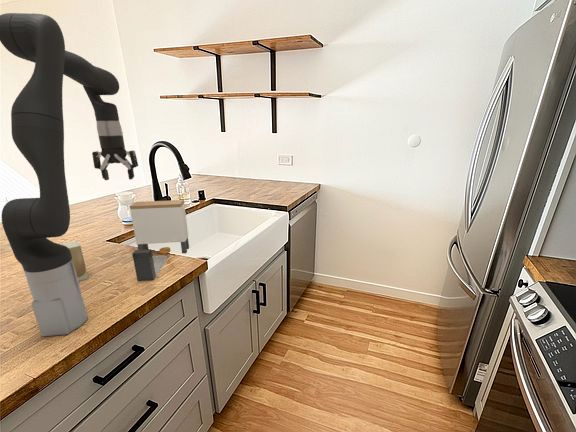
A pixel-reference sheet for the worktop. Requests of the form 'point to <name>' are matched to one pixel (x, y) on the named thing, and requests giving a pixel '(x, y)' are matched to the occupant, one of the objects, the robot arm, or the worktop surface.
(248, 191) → the worktop surface
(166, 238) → the cabinet
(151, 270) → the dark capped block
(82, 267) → the skincare box
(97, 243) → the worktop surface
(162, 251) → the token
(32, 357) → the worktop surface
